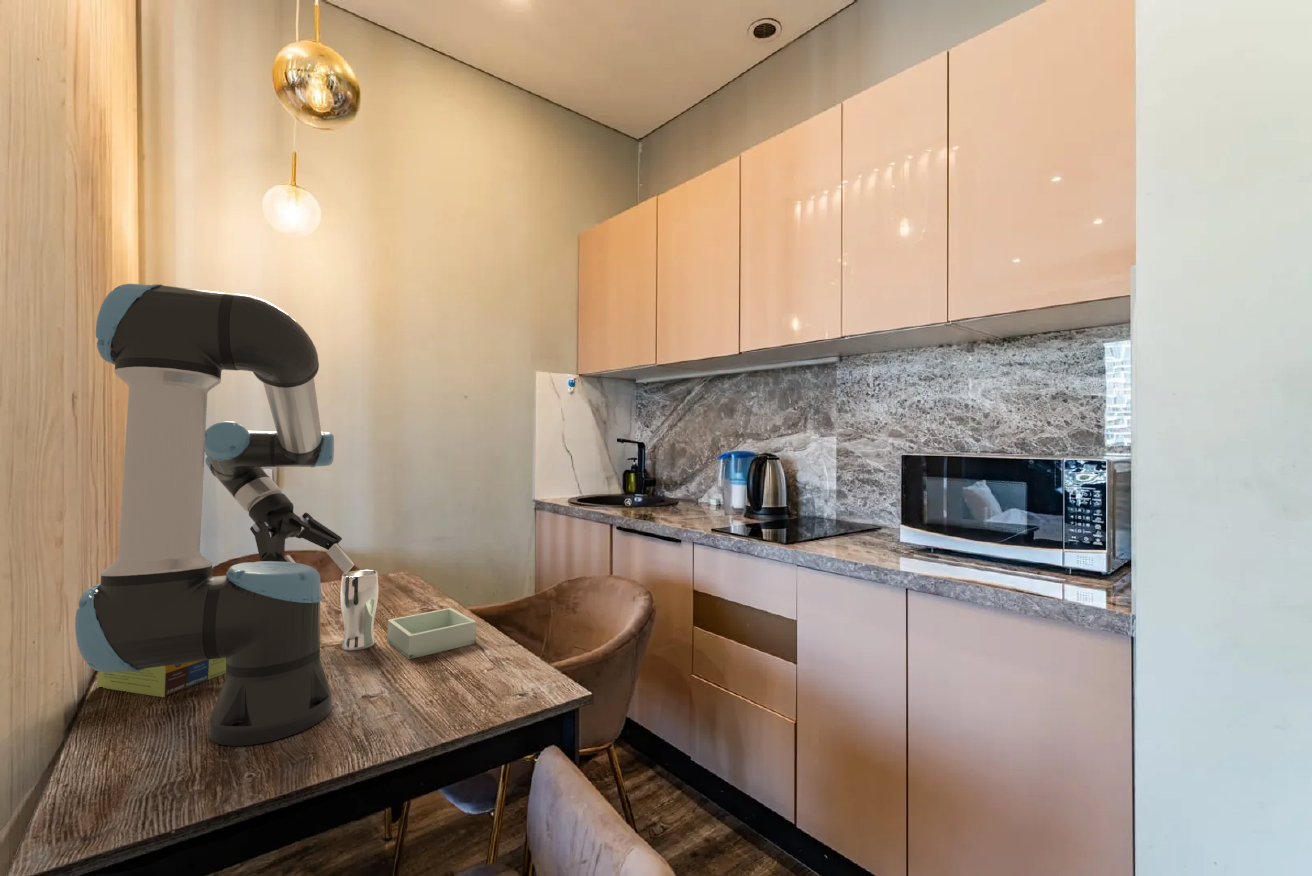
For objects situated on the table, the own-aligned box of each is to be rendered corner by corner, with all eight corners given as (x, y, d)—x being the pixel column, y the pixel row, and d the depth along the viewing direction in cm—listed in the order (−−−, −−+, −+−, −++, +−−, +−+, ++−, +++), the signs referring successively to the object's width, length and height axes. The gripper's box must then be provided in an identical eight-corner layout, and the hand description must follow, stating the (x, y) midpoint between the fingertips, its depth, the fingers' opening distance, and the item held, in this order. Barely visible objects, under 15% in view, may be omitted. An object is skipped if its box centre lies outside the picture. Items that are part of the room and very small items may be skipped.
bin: (476, 643, 115) (476, 621, 115) (408, 659, 106) (409, 636, 106) (450, 627, 125) (450, 607, 125) (387, 641, 116) (387, 620, 116)
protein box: (164, 698, 89) (167, 603, 90) (95, 688, 93) (98, 596, 93) (228, 673, 99) (230, 587, 100) (164, 665, 103) (166, 582, 103)
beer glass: (375, 649, 111) (376, 575, 112) (336, 653, 109) (338, 578, 109) (379, 638, 118) (380, 568, 118) (342, 642, 115) (343, 571, 116)
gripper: (299, 509, 130) (355, 574, 128) (199, 523, 106) (267, 604, 103) (319, 487, 130) (376, 552, 128) (224, 496, 105) (293, 577, 103)
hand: (328, 576), depth 116 cm, fingers open, 13 cm apart
